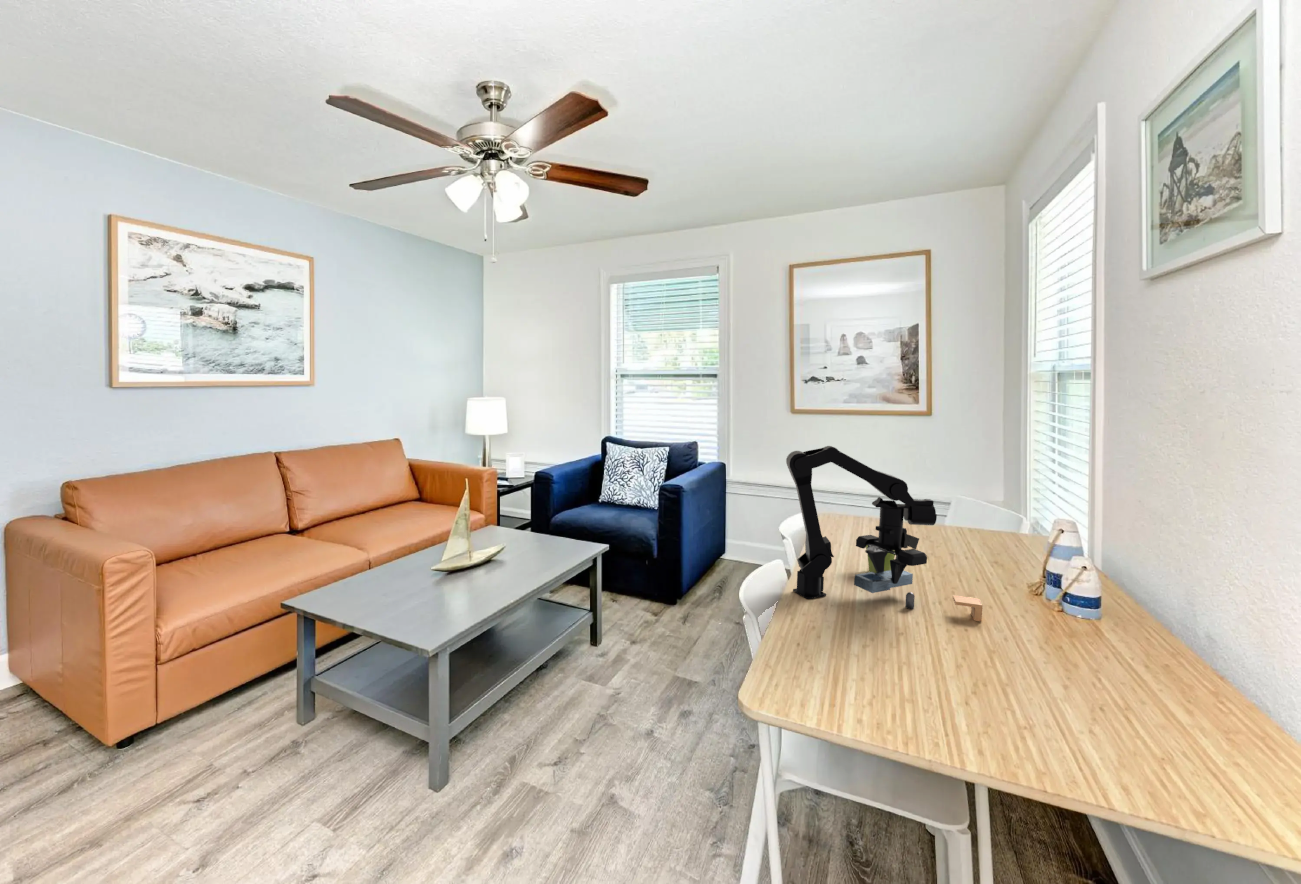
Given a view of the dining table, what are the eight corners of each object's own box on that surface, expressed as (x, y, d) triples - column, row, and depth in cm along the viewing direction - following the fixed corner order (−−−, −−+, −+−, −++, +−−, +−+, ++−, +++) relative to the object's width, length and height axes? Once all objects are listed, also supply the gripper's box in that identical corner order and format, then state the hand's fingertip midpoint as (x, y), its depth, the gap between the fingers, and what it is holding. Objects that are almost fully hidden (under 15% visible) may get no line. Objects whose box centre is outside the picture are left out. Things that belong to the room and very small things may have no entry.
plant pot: (902, 579, 154) (904, 550, 153) (870, 578, 154) (871, 550, 154) (888, 568, 164) (890, 541, 163) (858, 568, 164) (859, 541, 163)
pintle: (910, 609, 132) (910, 594, 132) (903, 606, 134) (904, 591, 134) (915, 608, 133) (916, 593, 133) (909, 605, 135) (910, 590, 135)
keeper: (954, 617, 128) (955, 601, 128) (951, 610, 132) (952, 595, 132) (981, 621, 126) (982, 605, 125) (977, 614, 130) (978, 598, 130)
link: (872, 593, 133) (872, 582, 133) (854, 584, 139) (854, 574, 139) (915, 585, 139) (915, 575, 139) (896, 577, 145) (896, 567, 145)
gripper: (944, 529, 133) (940, 588, 134) (885, 513, 150) (882, 566, 151) (912, 533, 128) (908, 594, 130) (855, 516, 145) (853, 570, 147)
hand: (887, 580), depth 139 cm, fingers closed on link, 4 cm apart
